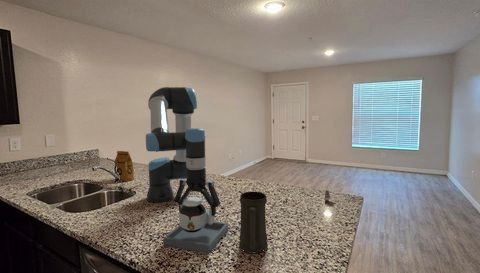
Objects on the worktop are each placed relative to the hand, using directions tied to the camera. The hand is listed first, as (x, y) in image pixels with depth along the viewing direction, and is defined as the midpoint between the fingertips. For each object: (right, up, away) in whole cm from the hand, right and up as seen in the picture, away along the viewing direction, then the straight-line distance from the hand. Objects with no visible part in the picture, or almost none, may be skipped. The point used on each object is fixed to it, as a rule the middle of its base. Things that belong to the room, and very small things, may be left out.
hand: (197, 221), depth 102 cm
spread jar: (0, -3, 0) cm, 3 cm away
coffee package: (-69, +1, +89) cm, 113 cm away
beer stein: (+22, -8, -9) cm, 25 cm away
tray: (0, -7, +1) cm, 7 cm away
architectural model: (+65, -3, +39) cm, 76 cm away
